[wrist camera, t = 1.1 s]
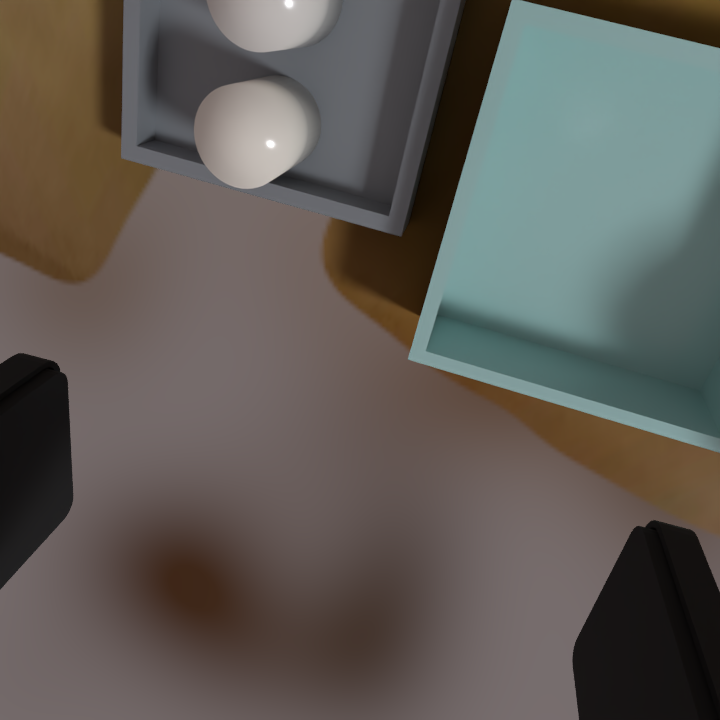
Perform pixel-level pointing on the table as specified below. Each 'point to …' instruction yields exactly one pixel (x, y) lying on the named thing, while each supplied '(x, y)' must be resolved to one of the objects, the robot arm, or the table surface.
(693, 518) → the table surface
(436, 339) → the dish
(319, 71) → the parts tray
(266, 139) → the white tapered rounded piece
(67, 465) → the robot arm
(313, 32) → the white rounded cylinder
